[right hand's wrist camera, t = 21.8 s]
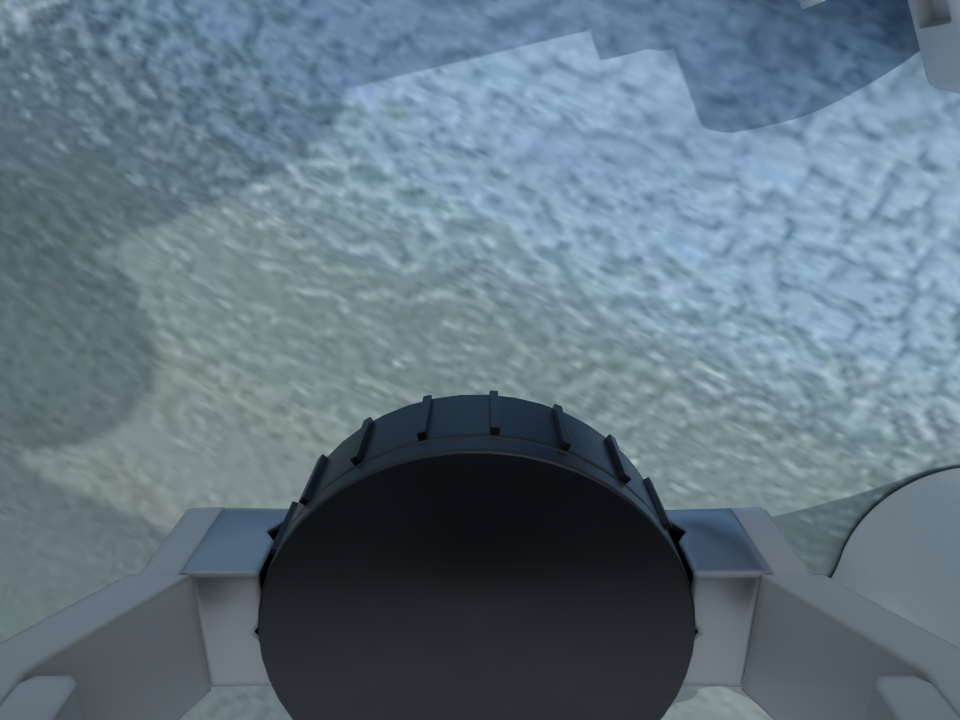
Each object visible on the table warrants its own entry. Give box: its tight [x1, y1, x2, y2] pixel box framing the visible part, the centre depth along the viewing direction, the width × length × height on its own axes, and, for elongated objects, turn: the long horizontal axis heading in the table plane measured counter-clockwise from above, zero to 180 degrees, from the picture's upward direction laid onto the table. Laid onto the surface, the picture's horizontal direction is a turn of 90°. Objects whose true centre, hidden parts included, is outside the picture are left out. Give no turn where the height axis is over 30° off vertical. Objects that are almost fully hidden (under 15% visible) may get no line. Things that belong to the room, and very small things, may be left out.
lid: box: [258, 391, 696, 720], centre depth 9 cm, size 6×6×2 cm
